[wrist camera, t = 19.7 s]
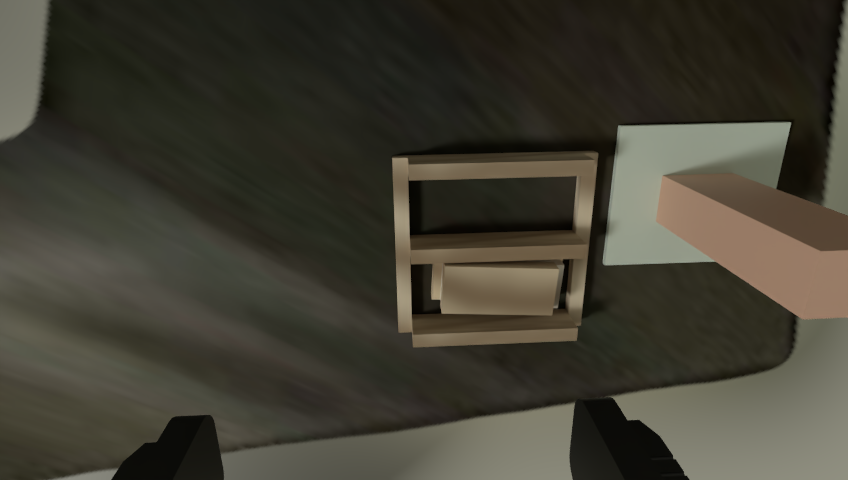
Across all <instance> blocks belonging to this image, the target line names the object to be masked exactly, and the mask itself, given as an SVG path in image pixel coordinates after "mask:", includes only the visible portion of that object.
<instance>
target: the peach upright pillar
mask: <svg viewBox="0 0 848 480" xmlns="http://www.w3.org/2000/svg"><path fill="white" fill-rule="evenodd" d="M656 222H657V223H659V224H660V225H662V226H663V227H665V228H666V229H668V230H669V231H671V232H672V233H674V234H675V235H677V236H678V237H680V238H681V239H683V240H684V241H686V242H687V243H689V244H690V245H692V246H693V247H695V248H696V249H698V250H699V251H701V252H702V253H704V254H705V255H707V256H708V257H710V258H711V259H713V260H714V261H716V262H717V263H719V264H720V265H722V266H723V267H725V268H726V269H728V270H729V271H731V272H732V273H734V274H735V275H737V276H738V277H740V278H741V279H743V280H744V281H746V282H747V283H749V284H750V285H752V286H753V287H755V288H756V289H758V290H759V291H761V292H762V293H764V294H765V295H767V296H768V297H770V298H771V299H773V300H774V301H776V302H777V303H779V304H780V305H782V306H783V307H785V308H786V309H788V310H789V311H791V312H792V313H794V314H795V315H797V316H798V317H800V318H801V319H822V318H843V317H848V216H847V215H844V214H842V213H839V212H836V211H834V210H831V209H828V208H826V207H823V206H820V205H818V204H815V203H812V202H809V201H807V200H804V199H801V198H799V197H796V196H793V195H791V194H788V193H785V192H783V191H780V190H777V189H775V188H772V187H769V186H766V185H764V184H761V183H758V182H756V181H753V180H750V179H748V178H745V177H742V176H740V175H737V174H734V173H722V174H693V175H663V176H662V182H661V189H660V196H659V203H658V210H657V217H656Z"/></svg>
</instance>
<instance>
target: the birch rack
mask: <svg viewBox="0 0 848 480" xmlns="http://www.w3.org/2000/svg"><path fill="white" fill-rule="evenodd" d="M392 161H393V189H394V217H395V245H396V272H397V300H398V328H399V333H402V332H412V337H413V347H433V346H457V345H481V344H505V343H529V342H553V341H577V332H578V328H577V326H576V325H581V317H582V307H583V297H584V288H585V278H586V268H587V259H588V249H589V239H590V230H591V220H592V210H593V200H594V191H595V181H596V171H597V162H598V153H597V152H595V151H565V152H525V153H485V154H445V155H404V156H392ZM408 176H409V181H410V180H447V179H484V178H521V177H558V176H577V183H576V194H575V205H574V216H573V227H572V230H556V231H525V232H493V233H462V234H430V235H410V227H409V188H408ZM410 257H411V264H436V263H465V262H494V261H523V260H553V259H570V261H569V272H568V283H567V294H566V305H565V309H553V314H552V316H551V315H492V314H417V315H412V306H411V266H410Z"/></svg>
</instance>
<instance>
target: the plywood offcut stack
mask: <svg viewBox="0 0 848 480" xmlns="http://www.w3.org/2000/svg"><path fill="white" fill-rule="evenodd" d="M562 261H563V259H553V260H523V261H494V262H465V263H436V264H433V270H432V287H431V296H432V299H436V300H440V301H441V303H440V307H441V312H442V314H492V315H551V316H552V314H553V308H558V304H559V297H560V291H561V284H562V278H563V272H564V264H563V263H562Z"/></svg>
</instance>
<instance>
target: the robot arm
mask: <svg viewBox="0 0 848 480" xmlns="http://www.w3.org/2000/svg"><path fill="white" fill-rule="evenodd" d="M570 467H571V473H572V477H573V480H689V478H688V477H687V476H685V475H684V471H683V470H682V468H681V467H680V465H679V464H678V462H677V461H676V460H675V459H673V455H672V453H671V452H670V451H669V449H668V448H667V446H666V445H665V443H664V442H663V440H662V439H661V438H660V436H659V435H658V434H656V433H655V432H654V431H652V430H651V429H650V428H649V427H647V426H646V425H645V424H643V423H642V422H641V421H640V420H629V421H627V419H626V417H625V416H624V414H623V413H622V411H621V409H620V408H619V406H618V405H617V403H616V402H615V400H614V399H613V398H611V397H606V398H585V399H577V400H576V402H575V408H574V416H573V426H572V435H571V445H570ZM112 480H224V472H223V465H222V460H221V454H220V449H219V444H218V439H217V433H216V428H215V423H214V420H213V418H212V416H211V415H198V416H176V417H173V418H172V419H171V420H170V421H169V423H168V424H167V426H166V428H165V429H164V431H163V433H162V434H161V436H160V438H159V439H158V441H157V442H154V443H145V444H143V445H142V446H141V447H140V448H139V449H138V450H136V451H135V452H134V453H133V454H132V455H131V456H129V457H128V458H127V459H126V460H125V461H124V462H123V463H122V464H121V466H120V467H119V469H118V470H117V472H116V474H115V475H114V477H113V478H112Z"/></svg>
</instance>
